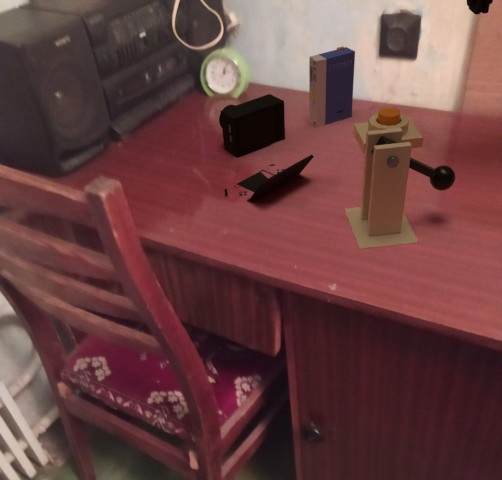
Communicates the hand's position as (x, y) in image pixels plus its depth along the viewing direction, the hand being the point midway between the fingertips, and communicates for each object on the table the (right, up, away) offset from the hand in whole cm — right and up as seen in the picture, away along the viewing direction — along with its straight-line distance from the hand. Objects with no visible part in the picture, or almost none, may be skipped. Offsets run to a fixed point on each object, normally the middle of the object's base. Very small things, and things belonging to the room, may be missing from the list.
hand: (478, 10), depth 79 cm
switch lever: (-10, -23, -3) cm, 26 cm away
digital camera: (-30, -10, +25) cm, 41 cm away
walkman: (-16, -4, +29) cm, 34 cm away
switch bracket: (-13, -30, +3) cm, 32 cm away
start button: (-7, -8, +20) cm, 23 cm away
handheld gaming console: (-28, -22, +13) cm, 37 cm away
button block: (-7, -10, +22) cm, 25 cm away
